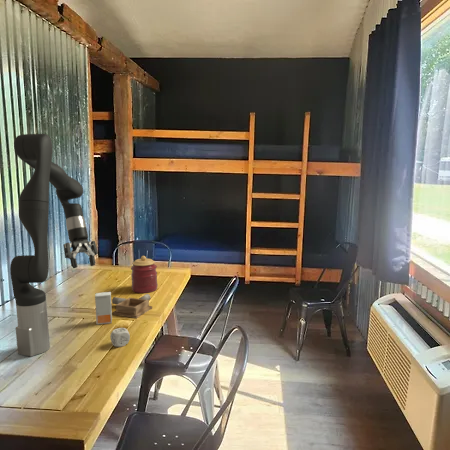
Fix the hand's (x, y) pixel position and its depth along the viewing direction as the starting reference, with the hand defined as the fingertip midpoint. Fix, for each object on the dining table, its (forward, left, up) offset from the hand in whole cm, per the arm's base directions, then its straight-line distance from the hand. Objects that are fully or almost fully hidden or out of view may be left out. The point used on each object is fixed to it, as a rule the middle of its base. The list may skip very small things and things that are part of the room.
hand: (84, 266), depth 161 cm
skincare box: (-2, -10, -22) cm, 24 cm away
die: (-16, -28, -22) cm, 39 cm away
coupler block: (+15, -11, -22) cm, 29 cm away
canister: (+40, -2, -22) cm, 46 cm away
